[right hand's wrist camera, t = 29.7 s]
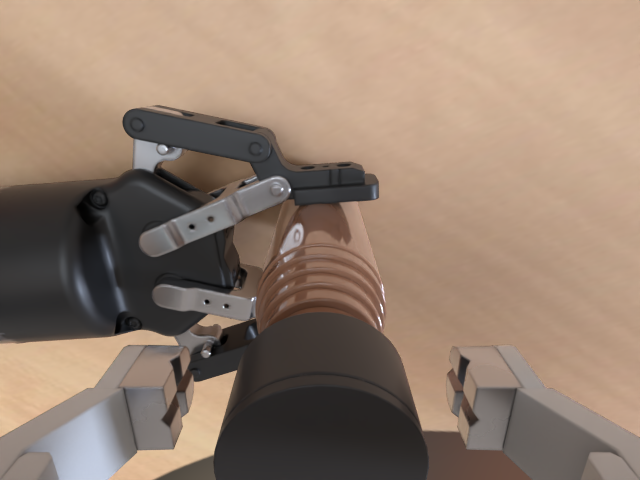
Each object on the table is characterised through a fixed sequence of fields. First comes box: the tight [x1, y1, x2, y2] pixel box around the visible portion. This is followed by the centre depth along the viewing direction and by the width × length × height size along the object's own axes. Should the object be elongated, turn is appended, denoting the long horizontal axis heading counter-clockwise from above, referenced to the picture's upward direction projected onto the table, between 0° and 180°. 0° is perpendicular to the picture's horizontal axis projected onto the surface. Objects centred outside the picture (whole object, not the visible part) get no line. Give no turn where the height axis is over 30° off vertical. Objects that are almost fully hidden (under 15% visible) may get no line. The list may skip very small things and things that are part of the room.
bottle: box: [255, 199, 386, 334], centre depth 17 cm, size 4×4×18 cm
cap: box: [213, 312, 429, 480], centre depth 9 cm, size 4×4×3 cm
